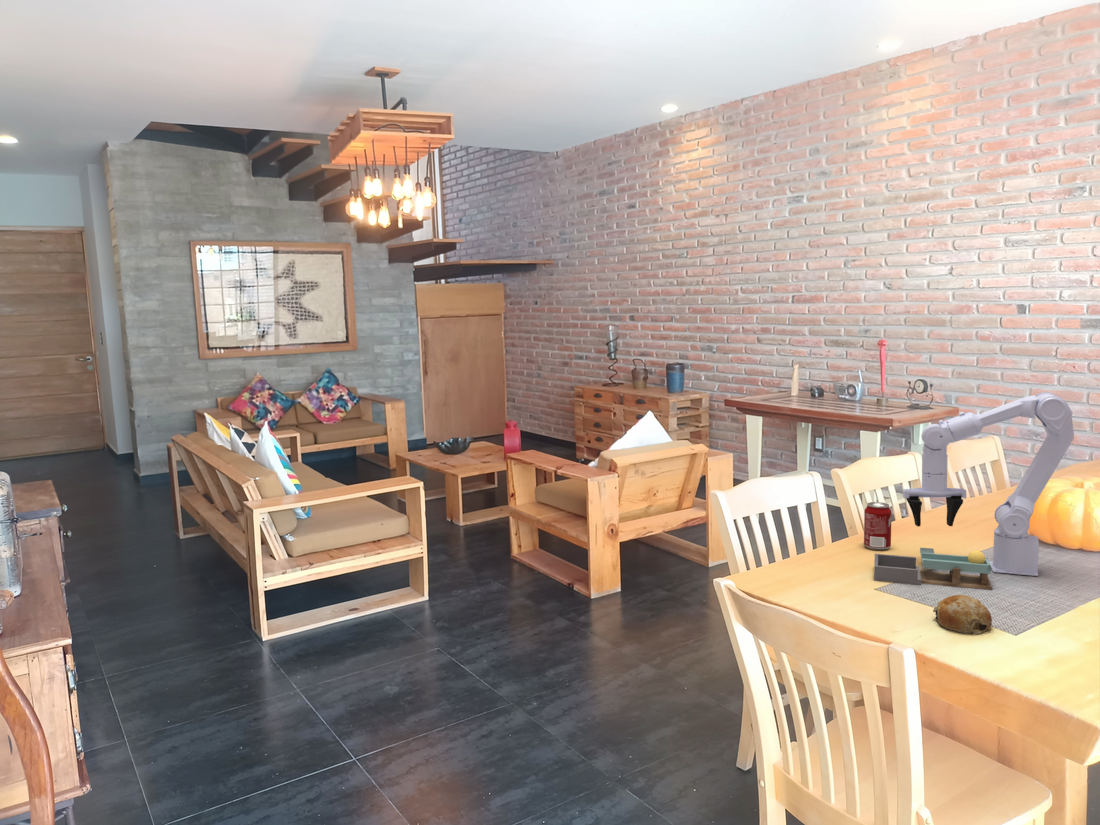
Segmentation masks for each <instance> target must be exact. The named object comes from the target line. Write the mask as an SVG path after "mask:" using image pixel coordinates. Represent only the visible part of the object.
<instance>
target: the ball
mask: <svg viewBox="0 0 1100 825" xmlns="http://www.w3.org/2000/svg"><path fill="white" fill-rule="evenodd" d="M967 556H968V560H969V562H970V563H975V564H984V562H985V558H986V555H985V553H983V552H982V551H980V550H977V549H976V550H975V549H974V550H972V551H970V552H969V553H968V555H967Z"/></svg>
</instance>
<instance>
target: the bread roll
mask: <svg viewBox="0 0 1100 825" xmlns="http://www.w3.org/2000/svg"><path fill="white" fill-rule="evenodd" d="M932 613H935V614H934V615H935V618H934V619H935V620H936V622H937V623H938V625H939V626H940V627H943V628H944V629H945V630H950V631H953V632H955V633H961V634H966V635H967V634H971V635H972V634H973V635H980V634H982V633H985V632H986V631H988V630H990V629H991V627H992V625H993V624H992V623H993V618H992V615H991V612H990V611H989V609H988V608H987V607H986V605H985V604H983V603H982V602H981V600H980V599H978V598H973V596H968V595H964V594H954V595H951V596H947V597H945V598H943V599H942V600H940V601H938V602H937V605H936V606H934V608H933V609H932Z"/></svg>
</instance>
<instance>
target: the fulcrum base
mask: <svg viewBox="0 0 1100 825" xmlns="http://www.w3.org/2000/svg"><path fill="white" fill-rule="evenodd" d="M920 575H921V584H924V585H927V584H928V585H933V586H934V585H935V586H936V585H937V586H946V587H957V588H968V589H979V590H990V591H992V590H993V587H992V586H993V585H992V584H991V581H990V578H989V574H984V573H979V575H977V574H975V575H974V574H965V573H962V572H961V569H960V568H953V571H950V570H949V572H942V571H931V570H921V569H920Z"/></svg>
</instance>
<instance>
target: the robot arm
mask: <svg viewBox="0 0 1100 825" xmlns="http://www.w3.org/2000/svg"><path fill="white" fill-rule="evenodd" d="M1018 417H1022V418H1028V419H1036V418H1037V419H1038V420H1039V421H1040V422H1041V424H1042V426H1043V428H1044V431H1045V433H1046V435H1047V436H1046V438H1044V441H1043V443H1042V444H1041V446H1040V448H1039V449H1038V450H1037V452H1036V455H1035V456H1034V458H1033V459H1032V460H1031V463H1030V465H1029V466H1028V468H1027V470H1026V471H1025V473H1024V475H1023V476H1022V478H1021V480H1020V481H1019V482H1018V485H1017V486H1016V488H1015V490H1014V492H1013V493H1011V494H1010V495H1009V496H1008V497H1007V499H1006V501H1005V502H1003V503H1002V504H1000V505H999V506H997V507H996V509H995V511H994V515H993V516H994V519H995V521H996V523H997V524H998V525H997V527H996V528H995V529H994V530H993V549H992V550H993V551H992V552H993V553H992V560H989V562H990V565H991V571H992V572H993V573H999V574H1000V573H1001V574H1012V575H1023V576H1032V577H1033V576H1035V577H1038V576H1039V557H1040V556H1039V555H1040V546H1039V545H1040V544H1039V538H1038V536H1037V535H1031V534H1029V532H1028V531H1029V529H1030V522H1031V520H1030V519H1031V517H1032V515H1033V513H1034V509H1035V505H1036V503H1037V502H1038V501H1037V500H1038V499H1039V498H1040V496H1041V495H1042V492H1043V491H1044V490H1045V488H1046V486H1047V484H1048V482H1049V481H1050V479H1051V477H1052V476H1053V474H1054V472H1055V471H1056V469H1057V467H1058V466H1059V465H1060V463H1061V461H1062V460H1063V458H1064V456H1065V454H1066V452H1067V451H1068V449H1069V448H1070V446H1071V445H1072V442H1074V438H1075V433H1074V423H1073V411H1072V409H1071V407H1070V405H1069V404H1068V403H1067V401H1066V400H1065V399H1064V398H1062V397H1060V396H1057V395H1056V394H1055V393H1053V392H1050V391H1049V392H1048V391H1047V392H1045V391H1044V392H1040V393H1037V394H1035V395H1033V394H1032V395H1028V396H1025V397H1021V398H1018V399H1016V400H1013V401H1010V402H1008V403H1004V404H1003V405H1001V406H997V407H995V408H993V409H990V410H987V411H985V412H982V413H979V414H977V413H974V412H970V411H968V412H967V413H966V412H965V411H962V412H959V413H958V416H955V417H951V418H949V419H946V420H943V419H940V420H938V423H939V424H938V423H931V424H928V425H926V427H925V428H924V429H923V430H922V432H921V436H920V437H921V440H922V442H923V446H922V454H921V487H916V488H903V489H902V497H903V498H904V499H906V501H907V503H908V506H909V508H910V510H911V513H912V516H913V521H914V525H915V526H916V527H921V523H922V522H921V521H922V519H921V516H922V515H921V512H922V504H923V501H921V498H945V501H946V525H947V526H949V527H953V525H954V521H955V519H956V516H957V513H958V512H959V510H960V508H961V507H962V505H963V503H964V499H966V498H967V490H966V489H965V488H954V487H953V488H952V487H948V460H949V459H948V457H949V455H948V454H947V453H948V452H947V448H948V445H949V443H952V444H954V443H955V442H960V441H963V440H966V439H968V438H972V437H975V436H977V435H980V434H981V432H982V430H983V428H984V427H988V426H991V425H994V424H998V423H1001V422H1004V421H1007V420H1011V419H1014V418H1018Z"/></svg>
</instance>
